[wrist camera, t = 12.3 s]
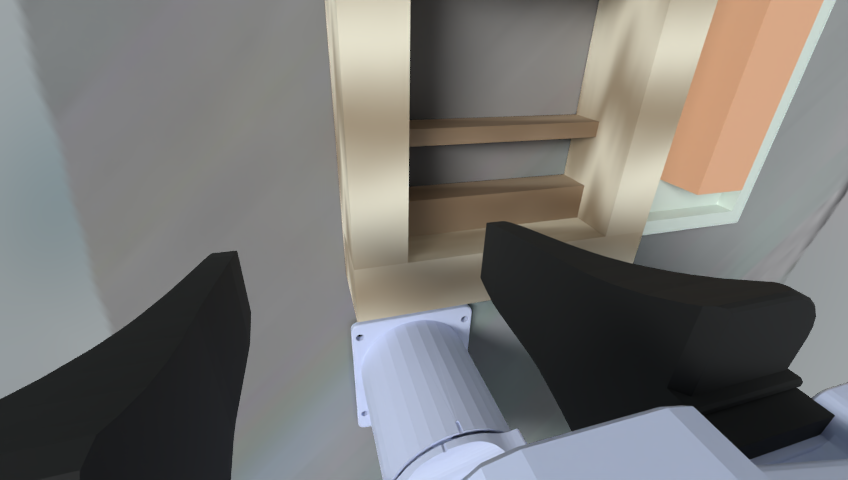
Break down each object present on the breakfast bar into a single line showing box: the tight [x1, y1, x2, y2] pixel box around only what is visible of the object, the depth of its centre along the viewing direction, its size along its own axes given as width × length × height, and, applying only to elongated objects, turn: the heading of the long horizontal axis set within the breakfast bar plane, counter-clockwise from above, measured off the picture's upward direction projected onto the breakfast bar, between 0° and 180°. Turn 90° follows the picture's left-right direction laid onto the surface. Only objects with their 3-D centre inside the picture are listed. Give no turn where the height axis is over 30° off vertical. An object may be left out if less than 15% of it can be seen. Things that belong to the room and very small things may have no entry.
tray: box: [642, 0, 836, 235], centre depth 24 cm, size 16×11×2 cm
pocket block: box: [325, 0, 718, 322], centre depth 19 cm, size 18×16×4 cm
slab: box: [660, 0, 824, 195], centre depth 23 cm, size 10×4×3 cm, turn 178°
